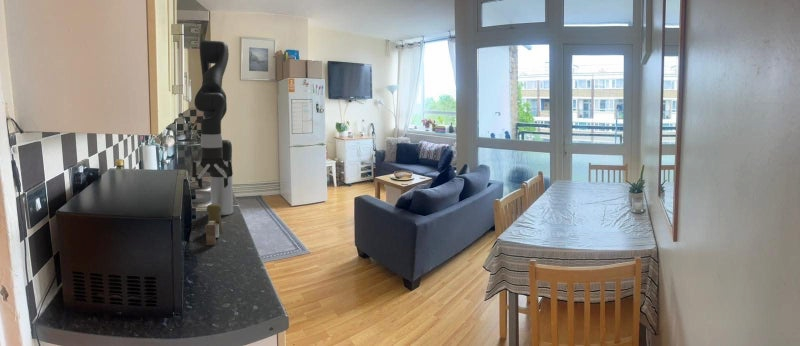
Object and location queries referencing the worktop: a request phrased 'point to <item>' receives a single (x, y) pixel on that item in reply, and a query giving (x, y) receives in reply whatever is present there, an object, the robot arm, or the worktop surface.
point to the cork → (214, 214)
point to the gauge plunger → (216, 228)
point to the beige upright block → (210, 233)
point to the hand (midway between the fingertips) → (213, 187)
